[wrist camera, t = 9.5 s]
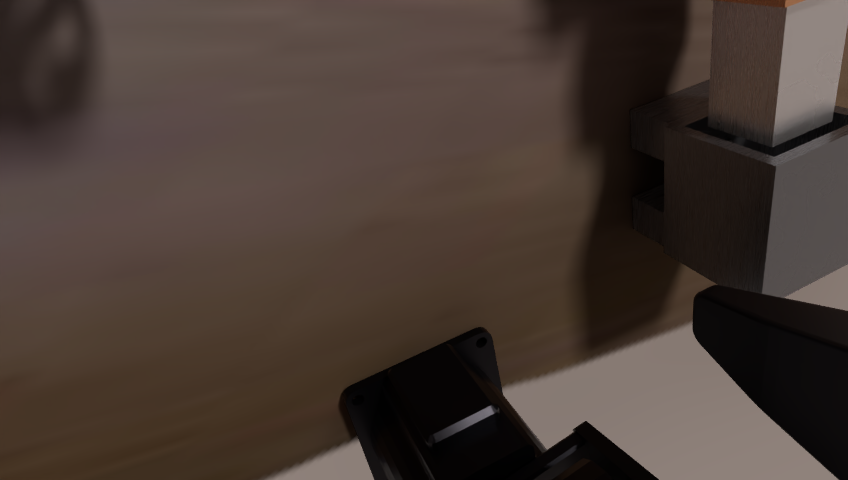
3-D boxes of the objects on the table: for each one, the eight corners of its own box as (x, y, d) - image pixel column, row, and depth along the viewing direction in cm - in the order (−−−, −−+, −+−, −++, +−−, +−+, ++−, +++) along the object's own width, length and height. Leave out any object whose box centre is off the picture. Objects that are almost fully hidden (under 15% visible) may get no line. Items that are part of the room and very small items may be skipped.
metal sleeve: (709, 194, 27) (856, 259, 22) (627, 231, 26) (760, 309, 21) (715, 77, 25) (885, 117, 19) (623, 112, 23) (776, 166, 18)
